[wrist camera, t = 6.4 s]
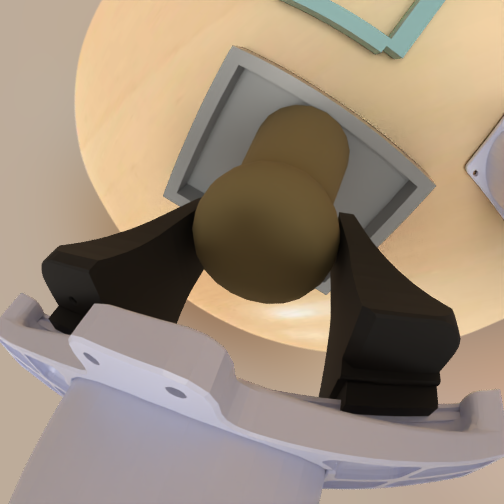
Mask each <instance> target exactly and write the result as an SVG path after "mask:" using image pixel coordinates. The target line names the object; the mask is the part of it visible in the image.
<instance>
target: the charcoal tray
mask: <svg viewBox="0 0 504 504" xmlns="http://www.w3.org/2000/svg"><path fill="white" fill-rule="evenodd" d="M292 105H305V106H312V107H315V108H317V109H319V110H322V111H324V112H326V113H328V114H329V115H330V116H331V117H332V118H333V119H335V120H336V121H337V122H338V123H339V124H340V126H341V128H342V129H343V131H344V133H345V134H346V136H347V140H348V145H349V149H350V153H349V161H348V166H347V169H346V172H345V174H344V177H343V180H342V183H341V185H340V188H339V191H338V193H337V196H336V199H335V201H334V204H333V205H334V207H335V209H336V212H337V217H338V216H339V212H342V213H349V214H354V215H355V217H356V218H357V220H358V221H359V223H360V224H361V226H362V227H363V229H364V230H365V232H366V233H367V235H368V236H369V238H370V239H371V240H372V242H373V243H374V244H375V246H376V247H378V246H379V245H380V244H381V243H382V242H383V241H384V240H385V239H386V238H387V237H388V236H389V235H390V234H391V233H392V232H393V231H394V230H395V229H396V228H397V227H398V226H399V225H400V224H401V223H402V222H403V221H404V220H405V219H406V218H407V217H408V216H409V215H410V214H411V213H412V212H413V211H414V210H415V209H416V208H417V206H418V205H419V204H420V203H421V202H422V201H423V200H424V199H425V198H426V197H427V196H428V195H429V193H430V192H431V191H432V190H433V189H434V188H435V187H436V185H435V183H434V182H433V181H432V179H431V178H430V177H429V175H428V174H427V173H426V172H425V171H424V170H423V169H422V168H421V167H420V166H419V165H418V164H417V163H416V162H414V161H413V160H412V159H411V158H410V157H409V156H408V155H407V154H405V153H404V152H403V151H402V150H401V149H400V148H399V147H397V146H396V145H395V144H394V143H393V142H391V141H390V140H389V139H388V138H387V137H385V136H384V135H383V134H382V133H380V132H379V131H378V130H377V129H375V128H374V127H373V126H371V125H370V124H369V123H367V122H366V121H365V120H364V119H362V118H361V117H359V116H358V115H357V114H355V113H354V112H353V111H351V110H350V109H348V108H347V107H346V106H344V105H343V104H341V103H340V102H338V101H337V100H335V99H334V98H332V97H331V96H329V95H328V94H326V93H325V92H323V91H322V90H320V89H318V88H317V87H315V86H314V85H312V84H310V83H309V82H307V81H305V80H304V79H302V78H300V77H299V76H297V75H295V74H294V73H292V72H290V71H288V70H286V69H285V68H283V67H281V66H279V65H277V64H275V63H274V62H272V61H270V60H268V59H266V58H264V57H262V56H260V55H258V54H256V53H254V52H252V51H250V50H248V49H245V48H243V47H238V46H232V47H231V49H230V51H229V52H228V54H227V56H226V58H225V60H224V62H223V63H222V65H221V67H220V69H219V71H218V73H217V75H216V77H215V79H214V81H213V82H212V84H211V86H210V88H209V90H208V92H207V94H206V96H205V99H204V101H203V103H202V105H201V107H200V109H199V111H198V113H197V115H196V118H195V120H194V122H193V124H192V126H191V128H190V131H189V133H188V135H187V138H186V140H185V142H184V144H183V147H182V149H181V152H180V154H179V156H178V159H177V161H176V164H175V166H174V169H173V171H172V174H171V176H170V179H169V181H168V184H167V186H166V189H165V192H164V194H163V197H165V198H167V199H168V200H170V201H172V202H173V203H175V204H177V205H178V206H180V207H181V206H183V205H185V204H187V203H189V202H191V201H193V200H195V199H198V198H201V197H203V195H204V194H205V192H206V191H207V189H208V188H209V186H210V185H211V184H212V183H213V182H214V181H215V180H216V179H217V178H219V177H220V176H222V175H223V174H225V173H226V172H228V171H229V170H231V169H233V168H234V167H237V166H240V165H241V164H242V162H243V160H244V158H245V156H246V154H247V152H248V150H249V147H250V145H251V143H252V141H253V139H254V137H255V135H256V133H257V131H258V129H259V127H260V126H261V124H262V123H263V122H264V121H265V119H266V118H267V117H268V116H269V115H270V114H272V113H274V112H275V111H277V110H278V109H280V108H283V107H288V106H292ZM315 289H317V290H319V291H320V292H322V293H324V294H325V295H327V294H328V293H329V292H330V291H331V285H330V272H329V273H328V275H327V276H326V278H325V279H324V281H323V282H322V283H321V284H320V285H319V286H318V287H316V288H315Z"/></svg>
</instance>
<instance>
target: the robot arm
mask: <svg viewBox="0 0 504 504" xmlns="http://www.w3.org/2000/svg"><path fill="white" fill-rule="evenodd" d="M465 170H466V172H467V173H468V174H469V175H470V177H471V178H472V179H473V180H474V181H475V183H476V184H477V185H478V186H479V187H480V189H481V190H482V191H483V192H484V194H485V195H486V196H487V198H488V199H489V200H490V202H491V203H492V204H493V206H494V207H495V208H496V210H497V211H498V212H499V214H500V215H501V217H502V218H503V220H504V116H503V118H502V119H501V120H500V122H499V123H498V125H497V126H496V127H495V129H494V130H493V131H492V132H491V134H490V135H489V136H488V138H487V139H486V140H485V142H484V143H483V144H482V145H481V147H480V148H479V149H478V150H477V152H476V153H475V154H474V155H473V157H472V158H471V159H470V160H469V161H468V163H467V164H466V166H465ZM475 170H476V174H475V175H473V172H474V171H475ZM201 198H202V197H201ZM201 198H198V199H195V200H193V201H191V202H189V203H187V204H185V205H183V206H181V207H179V208H177V209H175V210H173V211H171V212H169V213H167V214H165V215H162V216H160V217H158V218H156V219H154V220H152V221H150V222H147V223H145V224H143V225H140V226H138V227H135V228H132V229H130V230H127V231H124V232H120V233H117V234H114V235H111V236H108V237H104V238H100V239H96V240H91V241H86V242H81V243H74V244H68V245H61V246H59V247H57V248H56V249H55V250H54V251H53V252H52V253H51V254H50V255H49V256H48V257H47V258H46V259H45V260H44V261H43V263H42V274H43V278H44V280H45V282H46V284H47V286H48V288H49V290H50V291H51V293H52V295H53V297H54V298H55V300H56V302H57V303H58V305H59V306H58V307H57V309H56V310H55V311H54V312H53V314H52V315H51V316H48V315H47V314H45V313H44V312H43V310H42V308H41V306H40V305H39V303H38V302H37V301H36V300H35V299H33V298H32V297H30V296H28V295H26V294H24V293H20V295H19V296H18V297H17V298H16V299H15V300H14V302H13V303H12V304H11V305H10V306H9V307H8V309H7V310H6V311H5V312H4V313H3V315H2V316H1V317H0V343H1V344H2V345H3V346H4V347H5V349H6V350H7V351H8V352H9V353H10V354H11V355H12V356H13V358H14V359H15V360H16V361H17V362H18V363H19V364H20V365H21V366H22V367H23V368H25V369H26V370H27V371H28V372H30V373H31V374H32V375H34V376H35V377H36V378H38V379H39V380H40V381H41V382H43V383H44V384H45V385H47V386H48V387H49V388H51V389H52V390H53V391H55V392H56V393H58V394H59V395H60V396H62V397H63V398H62V400H61V401H60V403H59V405H58V407H57V408H56V410H55V412H54V413H53V415H52V417H51V419H50V421H49V423H48V424H47V426H46V428H45V430H44V431H43V433H42V435H41V437H40V439H39V441H38V443H37V444H36V446H35V448H34V450H33V452H32V454H31V456H30V458H29V460H28V462H27V464H26V466H25V468H24V471H23V473H22V475H21V477H20V479H19V481H18V483H17V485H16V488H15V490H14V492H13V494H12V497H11V499H10V501H9V504H319V501H320V497H321V492H322V489H372V488H373V489H374V488H388V487H398V486H408V485H416V484H423V483H430V482H436V481H442V480H448V479H453V478H458V477H463V476H466V475H468V474H470V473H472V472H475V471H477V470H479V469H481V468H483V467H485V466H487V465H489V464H492V463H493V462H495V461H497V460H499V459H501V458H503V457H504V411H503V404H502V398H501V392H500V390H499V389H492V390H479V391H475V392H472V393H470V394H469V395H467V396H466V397H465V398H464V399H463V400H462V401H461V402H460V403H454V404H438V397H437V386H438V385H439V384H440V370H442V368H443V367H444V366H445V365H446V364H447V362H448V361H449V360H450V359H451V358H452V356H453V355H454V354H455V352H456V350H457V349H458V347H459V344H460V334H459V330H458V325H457V321H456V318H455V315H454V312H453V310H452V309H451V308H450V307H448V306H446V305H445V304H443V303H441V302H440V301H438V300H436V299H435V298H433V297H431V296H430V295H428V294H427V293H426V292H424V291H423V290H421V289H420V288H419V287H417V286H416V285H415V284H413V283H412V282H411V281H410V280H409V279H407V278H406V277H405V276H404V275H403V274H402V273H400V272H399V271H398V270H397V269H396V268H395V267H394V266H393V265H392V264H391V263H390V262H389V261H388V260H387V259H386V257H385V256H384V255H383V254H382V253H381V252H380V251H379V249H378V248H377V247H376V246H375V244H374V243H373V242H372V240H371V239H370V238H369V236H368V235H367V233H366V232H365V230H364V229H363V227H362V226H361V224H360V223H359V221H358V220H357V218H356V217H355V215H354V214H349V213H342V212H339V216H338V222H339V228H340V243H339V248H338V253H337V257H336V261H335V263H334V265H333V267H332V269H331V271H330V285H331V320H330V331H329V339H328V346H327V353H326V359H325V366H324V371H323V377H322V383H321V388H320V393H319V397H313V396H306V395H299V394H293V393H287V392H281V391H276V390H270V389H268V388H265V387H262V386H259V385H257V384H254V383H251V382H249V381H246V380H243V379H241V378H238V377H236V376H235V370H234V363H233V361H232V360H231V358H230V356H229V354H228V352H227V351H226V349H225V348H224V347H223V346H222V345H221V344H220V343H218V342H217V341H216V340H214V339H213V338H212V337H210V336H209V335H207V334H205V333H202V332H200V331H197V330H195V329H192V328H190V327H187V326H183V325H179V324H177V321H178V319H179V316H180V314H181V311H182V309H183V307H184V304H185V302H186V300H187V298H188V296H189V294H190V292H191V290H192V288H193V287H194V285H195V283H196V282H197V280H198V278H199V276H200V275H201V273H202V271H203V270H204V268H203V266H202V264H201V262H200V260H199V258H198V257H197V255H196V249H195V244H194V238H193V231H192V227H193V222H194V217H195V212H196V209H197V206H198V203H199V201H200V199H201Z"/></svg>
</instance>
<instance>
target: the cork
mask: <svg viewBox="0 0 504 504" xmlns="http://www.w3.org/2000/svg"><path fill="white" fill-rule="evenodd" d="M349 153H350V149H349V145H348V140H347V136H346V134H345V133H344V131H343V129H342V128H341V126H340V124H339V123H338V122H337V121H336V120H335V119H333V118H332V117H331V116H330V115H329V114H328V113H326V112H324V111H322V110H319V109H317V108H315V107H312V106H305V105H292V106H288V107H283V108H280V109H278V110H277V111H275V112H274V113H272V114H270V115H269V116H268V117H267V118H266V119H265V121H264V122H263V123H262V124H261V126H260V127H259V129H258V131H257V133H256V135H255V137H254V139H253V141H252V143H251V145H250V147H249V150H248V152H247V154H246V156H245V158H244V160H243V162H242V164H241V165H240V166H237V167H234V168H233V169H231V170H229V171H228V172H226V173H225V174H223V175H222V176H220V177H219V178H217V179H216V180H215V181H214V182H213V183H212V184H211V185H210V186H209V188H208V189H207V191H206V192H205V194H204V195H203V197H202V198H201V199H200V201H199V203H198V206H197V209H196V212H195V217H194V222H193V227H192V231H193V238H194V244H195V249H196V255H197V257H198V258H199V260H200V262H201V264H202V266H203V268H204V270H205V271H206V272H207V273H208V274H209V275H210V276H211V277H212V278H213V280H214V281H215V282H216V283H218V284H219V285H221V286H222V287H223V288H225V289H226V290H228V291H229V292H231V293H233V294H235V295H237V296H240V297H242V298H244V299H247V300H250V301H255V302H260V303H265V304H274V303H286V302H290V301H293V300H297V299H300V298H301V297H303V296H304V295H306V294H307V293H309V292H310V291H312V290H313V289H315V288H316V287H318V286H319V285H320V284H321V283H322V282H323V281H324V279H325V278H326V276H327V275H328V273H329V272H330V271H331V269H332V267H333V265H334V263H335V261H336V257H337V253H338V248H339V243H340V228H339V222H338V217H337V212H336V209H335V207H334V205H333V204H334V201H335V199H336V196H337V193H338V191H339V188H340V185H341V183H342V180H343V177H344V174H345V172H346V169H347V166H348V161H349Z"/></svg>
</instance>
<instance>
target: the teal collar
mask: <svg viewBox="0 0 504 504" xmlns="http://www.w3.org/2000/svg"><path fill="white" fill-rule="evenodd" d="M281 1H283V2H285V3H287V4H289V5H292V6H294V7H296V8H298V9H300V10H302V11H304V12H306V13H308V14H310V15H312V16H314V17H316V18H317V19H319V20H321V21H323V22H325V23H327V24H328V25H330V26H332V27H333V28H335V29H337V30H339V31H340V32H342V33H344V34H345V35H347V36H348V37H350V38H352V39H353V40H355V41H356V42H358V43H359V44H361V45H362V46H364V47H365V48H367V49H368V50H370V51H371V52H372V53H374V54H378V53H381V52H382V51H384V52H385V53H387V54H388V55H389V56H391V57H392V58H393V59H400V58H403V57H404V56H405V54H406V53H407V52H408V50H409V49H410V48H411V46H412V45H413V44H414V42H415V41H416V40H417V38H418V37H419V35H420V34H421V33H422V31H423V30H424V29H425V27H426V26H427V25H428V23H429V22H430V21H431V19H432V18H433V16H434V15H435V14H436V12H437V11H438V10H439V8H440V7H441V6H442V4H443V3H444V1H445V0H415V2H414V3H413V4H412V6H411V7H410V8H409V10H408V11H407V12H406V14H405V15H404V16H403V18H402V19H401V20H400V22H399V23H398V24H397V26H396V27H395V28H394V30H393V31H392V32H391V34H390V35H389V36H386V35H385V34H384V33H382V32H381V31H379V30H378V29H376V28H375V27H373V26H372V25H370V24H369V23H367V22H366V21H364V20H363V19H361V18H360V17H358V16H356V15H355V14H353V13H351V12H350V11H348V10H346V9H345V8H343V7H341V6H339V5H338V4H336V3H334V2H332V1H330V0H281Z"/></svg>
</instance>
